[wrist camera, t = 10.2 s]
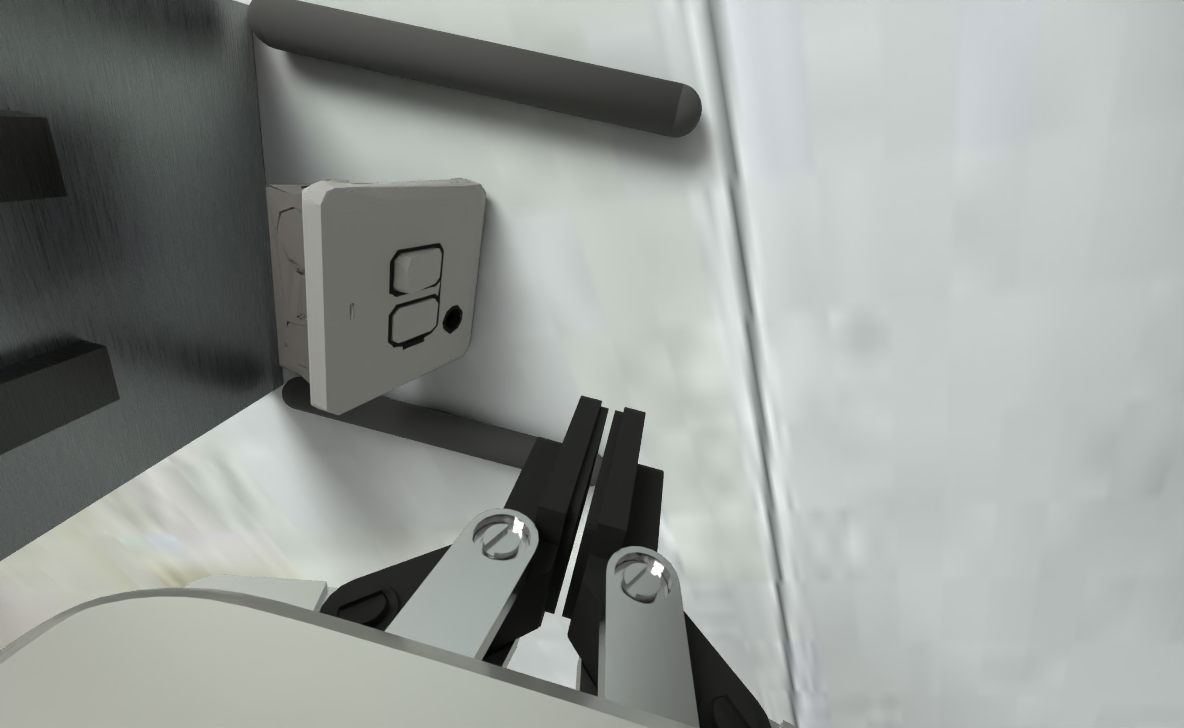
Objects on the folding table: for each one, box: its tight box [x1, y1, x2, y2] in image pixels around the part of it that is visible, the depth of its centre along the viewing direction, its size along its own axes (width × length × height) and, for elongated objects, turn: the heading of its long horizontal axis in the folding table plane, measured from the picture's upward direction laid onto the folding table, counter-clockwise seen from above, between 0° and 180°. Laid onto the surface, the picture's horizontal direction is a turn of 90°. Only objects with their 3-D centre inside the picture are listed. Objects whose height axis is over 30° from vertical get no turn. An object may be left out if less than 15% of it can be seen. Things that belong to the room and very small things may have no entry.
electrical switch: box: [266, 178, 486, 415], centre depth 22 cm, size 9×5×9 cm, turn 167°
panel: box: [0, 0, 283, 561], centre depth 19 cm, size 5×20×18 cm, turn 168°
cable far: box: [282, 376, 603, 486], centre depth 29 cm, size 20×2×2 cm, turn 78°
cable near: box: [248, 0, 702, 137], centre depth 21 cm, size 20×2×2 cm, turn 78°
